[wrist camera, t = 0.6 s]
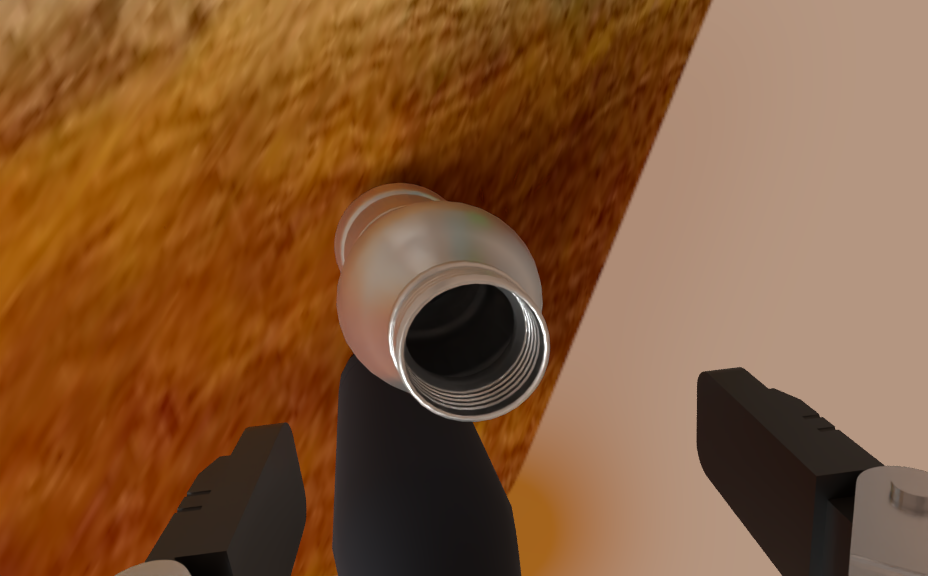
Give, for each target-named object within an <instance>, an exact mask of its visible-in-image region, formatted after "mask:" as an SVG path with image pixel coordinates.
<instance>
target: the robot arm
mask: <svg viewBox="0 0 928 576" xmlns="http://www.w3.org/2000/svg"><path fill="white" fill-rule="evenodd" d="M697 451H698V456H699V460H700V463H701V465H702V468H703V470H704V472H705V474H706V476H707V477H708V478H709V480H710V481H711V482H712V484H713V485H714V486H715V488H716V489H717V490H718V491H719V492H720V494H721V495H722V497H723V498H724V499H725V501H726V502H727V503H728V505H729V506H730V507H731V509H732V510H733V511H734V513H735V514H736V515H737V517H738V518H739V519H740V520H741V522H742V523H743V524H744V526H745V527H746V528H747V530H748V531H749V532H750V534H751V535H752V536H753V538H754V539H755V540H756V541H757V543H758V544H759V545H760V547H761V548H762V549H763V551H764V552H765V553H766V555H767V556H768V557H769V559H770V560H771V561H772V563H773V564H774V565H775V567H776V568H777V569H778V571H779V572H780V573H781V574H782V576H928V472H926V471H923V470H919V469H914V468H909V467H901V466H884V465H883V464H882V463H881V462H879V461H878V460H877V459H876V458H874V457H873V456H872V455H870V454H869V453H868V452H867V451H865V450H864V449H863V448H861V447H860V446H859V445H858V444H856V443H855V442H854V441H853V440H851V439H850V438H849V437H847V436H846V435H845V434H844V433H842V432H841V431H840V430H835V426H833V425H832V424H831V423H830V422H828V421H827V420H826V419H825V418H823V417H820V416H819V414H818V413H817V412H816V411H814V410H813V409H812V408H810V407H809V406H808V405H807V404H805V403H804V402H803V401H802V400H800V399H798V398H795V397H793V396H791V395H788V394H786V393H784V392H781V391H779V390H776V389H774V388H772V389H768V388H767V387H766V386H764V385H763V384H762V383H761V382H760V381H758V380H757V379H756V378H755V377H753V376H752V375H751V374H750V373H749V372H748V371H746V370H745V369H743V368H741V367H737V368H730V369H721V370H713V371H705V372H702V373H701V374H700V375H699V377H698V382H697ZM177 510H178V511H177V513H175V514H174V515H173V517H172V518H171V520H170V522H169V523H168V525H167V527H166V528H165V530H164V531H163V533H162V535H161V536H160V538H159V540H158V541H157V543H156V545H155V546H154V548H153V549H152V551H151V553H150V554H149V556H148V558H147V559H146V561H145V563H142V564H139V565H136V566H133V567H131V568H129V569H126V570H124V571H122V572H120V573H119V574H117V575H115V576H291V572H292V569H293V565H294V562H295V558H296V555H297V551H298V548H299V544H300V541H301V537H302V534H303V530H304V526H305V521H306V497H305V491H304V486H303V481H302V476H301V472H300V467H299V462H298V458H297V453H296V448H295V444H294V439H293V434H292V431H291V428H290V426H289V424H288V423H279V424H271V425H263V426H255V427H248V428H246V429H245V431H244V432H243V434H242V436H241V438H240V440H239V441H238V443H237V445H236V447H235V449H234V450H233V452H232V454H231V455H230V456H222V457H219V458H218V459H216V460H215V461H214V462H213V463H212V464H210V465H209V466H208V467H207V468H206V469H204V470H203V471H202V472H201V473H200V474H198V476H197V478H196V479H195V481H194V483H193V484H192V486H191V487H190V489H189V491H188V492H187V497H184V499H183V500H182V502H181V504H180V505H179V507H178V509H177Z"/></svg>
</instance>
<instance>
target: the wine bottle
mask: <svg viewBox="0 0 928 576" xmlns="http://www.w3.org/2000/svg"><path fill="white" fill-rule="evenodd" d="M332 549H333V554H334V558H335V563H336V567H337V572H338V576H521V570H520V560H519V553H518V552H519V551H518V544H517V536H516V529H515V524H514V518H513V512H512V507H511V504H510V502H509V500H508V498H507V496H506V494H505V491H504V489H503V487H502V485H501V483H500V481H499V478H498V476H497V474H496V472H495V470H494V468H493V465H492V463H491V461H490V459H489V457H488V455H487V452H486V450H485V448H484V446H483V444H482V442H481V439H480V437H479V435H478V433H477V431H476V429H475V426H474V424H473V422H461V421H456V420H451V419H447V418H444V417H442V416H439V415H437V414H435V413H433V412H431V411H430V410H428V409H427V408H425V407H424V406H422V405H421V404H420V403H419V402H418V401H417V400H416V399H415V398H414V397H413V396H412V395H411V394H410V393H408V392H406V391H403V390H401V389H398V388H396V387H394V386H392V385H390V384H388V383H387V382H385V381H383V380H382V379H380V378H379V377H377V376H376V375H374V374H373V373H371V372H370V371H369V370H368V369H367V368H366V367H365V366H364V365H363V364H362V363H361V362H360V361H359V360H358V359H357V357H356V356H355V354H354V355H353V356H352V357H351V358H350V359H349V361H348V363H347V365H346V367H345V369H344V370H343V372H342V374H341V380H340V387H339V400H338V424H337V449H336V473H335V497H334V521H333V545H332Z"/></svg>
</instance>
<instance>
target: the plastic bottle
mask: <svg viewBox="0 0 928 576" xmlns="http://www.w3.org/2000/svg"><path fill="white" fill-rule="evenodd" d="M334 249H335V255H336V261H337V264H338V266H339V269H340V272H341V275H340V278H339V282H338V288H337V311H338V317H339V323H340V326H341V329H342V332H343V334H344V337H345V339H346V342H347V344H348V345H349V347H350V348H351V350H352V351H353V353H354V354H355V356H356V357H357V359H358V360H359V361H360V362H361V363H362V364H363V365H364V366H365V367H366V368H367V369H368V370H369V371H370V372H371V373H373V374H374V375H376V376H377V377H379V378H380V379H382V380H383V381H385V382H387V383H388V384H390V385H392V386H394V387H396V388H398V389H401V390H403V391H406V392H408V393H410V394H411V395H412V396H413V397H414V398H415V399H416V400H417V401H418V402H419V403H420V404H421V405H422V406H424V407H425V408H427V409H428V410H430V411H431V412H433V413H435V414H437V415H439V416H442V417H444V418H447V419H451V420H456V421H461V422H477V421H483V420H489V419H493V418H496V417H498V416H501V415H504V414H506V413H508V412H509V411H511V410H513V409H515V408H516V407H518V406H519V405H520V404H521V403H523V402H524V401H525V400H526V399H527V398H528V397H529V396H530V395H531V394H532V393H533V391H534V390H535V389H536V388H537V386H538V385H539V383H540V381H541V379H542V377H543V376H544V373H545V370H546V367H547V364H548V361H549V353H550V339H549V332H548V329H547V325H546V322H545V320H544V317H543V315H542V306H543V302H542V289H541V283H540V278H539V275H538V271H537V268H536V265H535V261H534V259H533V257H532V256H531V254H530V252H529V250H528V248H527V246H526V244H525V243H524V242H523V241H522V239H521V238H520V237H519V236H518V235H517V233H516V232H515V231H514V230H513V229H512V228H511V227H509V226H508V225H507V224H506V223H505V222H503V221H502V220H501V219H500V218H498V217H496V216H494V215H493V214H491V213H489V212H487V211H485V210H483V209H481V208H478V207H474V206H471V205H468V204H464V203H460V202H449V201H446V200H445V199H443V198H442V197H441V196H440V195H438V194H437V193H435V192H433V191H431V190H429V189H427V188H425V187H422V186H418V185H415V184H408V183H392V184H385V185H382V186H378V187H375V188H373V189H371V190H369V191H367V192H365V193H363V194H362V195H361V196H359V197H358V198H357V199H356V200H354V201H353V202H352V203H351V204H350V206H349V207H348V208H347V209H346V211H345V212H344V214H343V216H342V218H341V219H340V221H339V223H338V227H337V231H336V234H335V247H334Z"/></svg>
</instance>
